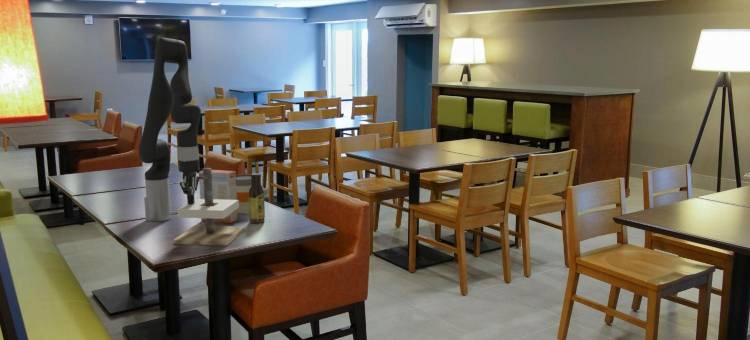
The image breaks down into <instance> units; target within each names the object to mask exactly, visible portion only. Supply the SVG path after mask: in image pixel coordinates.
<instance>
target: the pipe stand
mask: <svg viewBox="0 0 750 340" xmlns="http://www.w3.org/2000/svg"><path fill="white" fill-rule="evenodd" d="M212 170H213V169H212V168H211V167H204V168H202V171H203V178H204V197H205V206H213V190H212ZM245 231H246V227H245V226H243V225H242V226H239V225H238V226H237V225H236V226H234V225H215V222H214V218H206V221H205V225H204V224H202V225H201V224H200V225H199V224H195V225H192V227H191V228H189V229H187V230H186V231H185V232H183V233H182V234H180V235H179V236H177V237H175V238H174V239H173V244H174V245H175V244H176V245H197V246H198V245H204V246H228V245H230V243H232V242H233V241H235V239H237V238H238V237H239V236H240V235H241V234H242V233H243V232H245Z"/></svg>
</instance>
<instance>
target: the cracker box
mask: <svg viewBox="0 0 750 340" xmlns="http://www.w3.org/2000/svg"><path fill="white" fill-rule="evenodd" d="M211 170H212V190H213V199H222V200H237V195H236V175H237V174H236V170H222V169H211ZM198 177H199V182H198V185H199V199H205V197H204V178H203V170H199V171H198ZM200 219H201V222H206V218H200ZM238 220H239V219H238V213H237V209H236V210H235V211H233V212H232V213H231V214H229V215H228V216H227V217H225V218H224V219H215V218H214V223H224V224H232V223H234V222H237V221H238Z"/></svg>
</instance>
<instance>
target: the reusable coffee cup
mask: <svg viewBox="0 0 750 340" xmlns="http://www.w3.org/2000/svg"><path fill="white" fill-rule="evenodd" d="M251 183H252V179H251V174H247V173H245V174H236V195H237V200H239V208H238V209H237V214H238V213H239V214H247V213H248V214H249V189H250V187H251V186H252V184H251Z"/></svg>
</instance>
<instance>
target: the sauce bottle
mask: <svg viewBox="0 0 750 340" xmlns="http://www.w3.org/2000/svg"><path fill="white" fill-rule="evenodd" d="M250 175H251V179H252V183H251V184H252V186H251V187H250V189H249V213H248V216H249V217H248V218H249V222H250V223H251V224H260V223H264V222H265V217H266V215H265V214H266V213H265V211H266V210H265V207H266V206H265V192H264V188H263V187H262V182H261V181H262V180H261V179H262V173H257V172H256V173H251V174H250Z"/></svg>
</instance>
